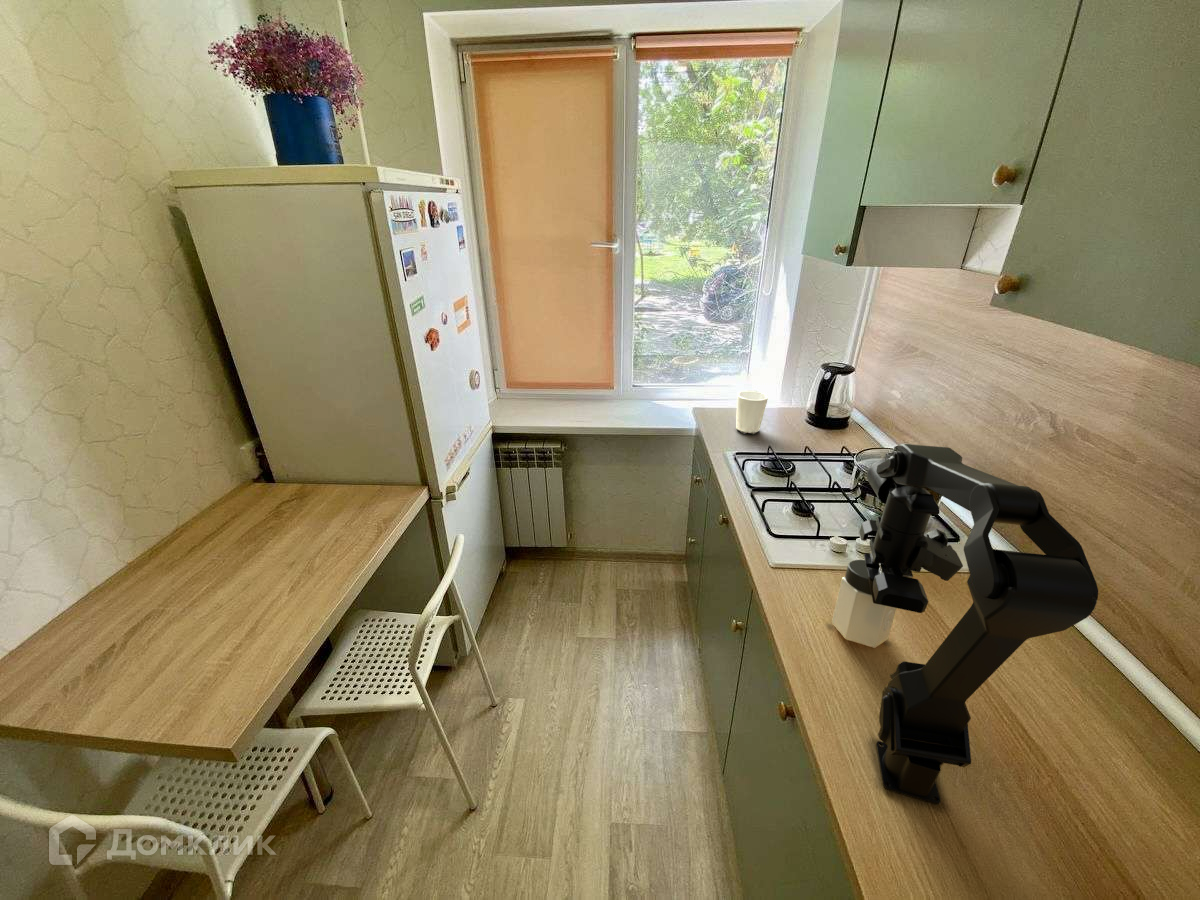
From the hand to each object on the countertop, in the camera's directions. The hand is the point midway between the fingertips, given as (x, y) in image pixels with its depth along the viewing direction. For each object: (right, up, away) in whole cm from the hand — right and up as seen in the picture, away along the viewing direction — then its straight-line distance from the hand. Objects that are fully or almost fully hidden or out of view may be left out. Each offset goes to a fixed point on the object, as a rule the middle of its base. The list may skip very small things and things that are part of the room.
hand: (876, 602), depth 79 cm
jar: (+1, -7, +7) cm, 10 cm away
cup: (+5, +31, +87) cm, 93 cm away
